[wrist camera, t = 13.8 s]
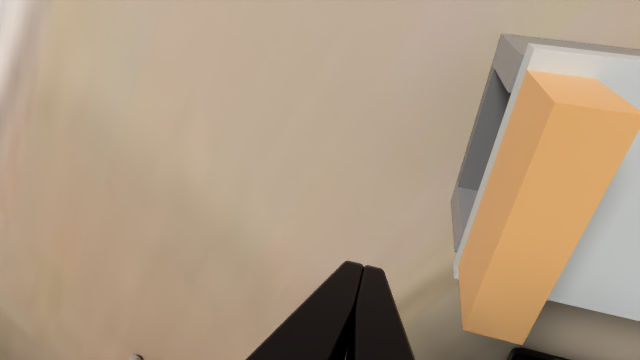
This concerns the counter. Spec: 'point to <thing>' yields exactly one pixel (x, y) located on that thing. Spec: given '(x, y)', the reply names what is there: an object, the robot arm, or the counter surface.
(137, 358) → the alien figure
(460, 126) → the counter surface
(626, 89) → the cover
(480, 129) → the duct
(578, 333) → the counter surface
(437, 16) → the counter surface
